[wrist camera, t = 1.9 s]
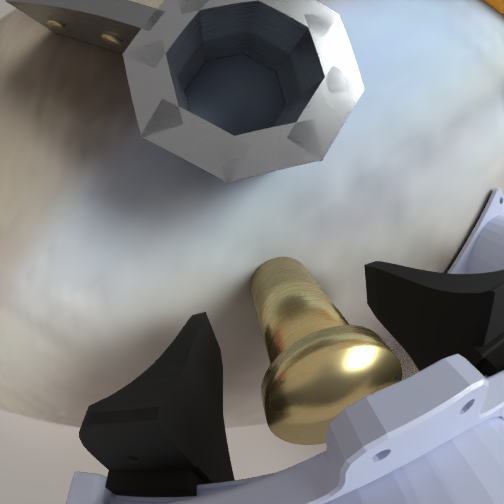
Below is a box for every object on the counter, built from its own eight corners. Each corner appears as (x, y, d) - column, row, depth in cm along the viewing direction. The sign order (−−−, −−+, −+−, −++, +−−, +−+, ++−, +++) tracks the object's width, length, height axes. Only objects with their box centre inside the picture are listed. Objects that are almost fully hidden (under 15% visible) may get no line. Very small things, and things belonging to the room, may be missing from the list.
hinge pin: (333, 273, 15) (423, 371, 7) (286, 331, 15) (334, 451, 8) (273, 231, 13) (340, 321, 6) (225, 296, 14) (236, 427, 7)
